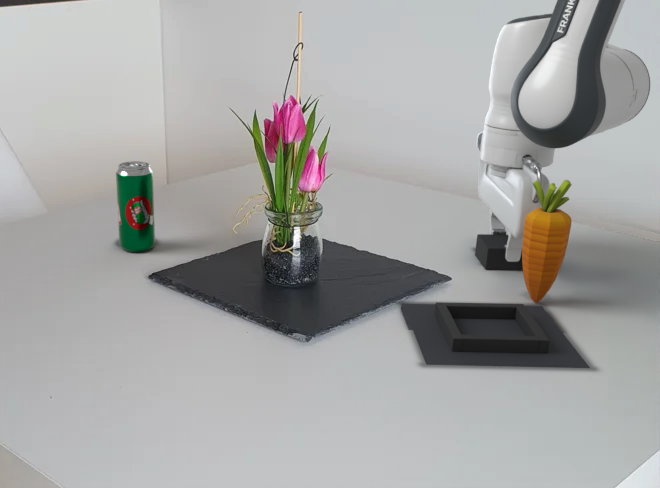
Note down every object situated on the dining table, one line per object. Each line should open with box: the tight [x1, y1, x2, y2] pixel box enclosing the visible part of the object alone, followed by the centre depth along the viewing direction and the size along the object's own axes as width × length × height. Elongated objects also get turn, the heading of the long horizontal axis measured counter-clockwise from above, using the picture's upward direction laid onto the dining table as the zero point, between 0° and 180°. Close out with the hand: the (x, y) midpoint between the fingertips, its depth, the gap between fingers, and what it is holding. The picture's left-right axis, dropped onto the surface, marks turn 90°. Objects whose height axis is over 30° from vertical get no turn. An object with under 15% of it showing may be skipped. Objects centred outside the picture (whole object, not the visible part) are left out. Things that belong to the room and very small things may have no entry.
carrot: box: [522, 179, 573, 304], centre depth 96 cm, size 5×5×15 cm
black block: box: [474, 233, 523, 271], centre depth 112 cm, size 6×6×3 cm
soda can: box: [115, 160, 156, 253], centre depth 117 cm, size 5×5×12 cm
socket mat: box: [400, 302, 591, 369], centre depth 89 cm, size 16×16×2 cm
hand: (503, 250), depth 112 cm, fingers closed on black block, 6 cm apart
